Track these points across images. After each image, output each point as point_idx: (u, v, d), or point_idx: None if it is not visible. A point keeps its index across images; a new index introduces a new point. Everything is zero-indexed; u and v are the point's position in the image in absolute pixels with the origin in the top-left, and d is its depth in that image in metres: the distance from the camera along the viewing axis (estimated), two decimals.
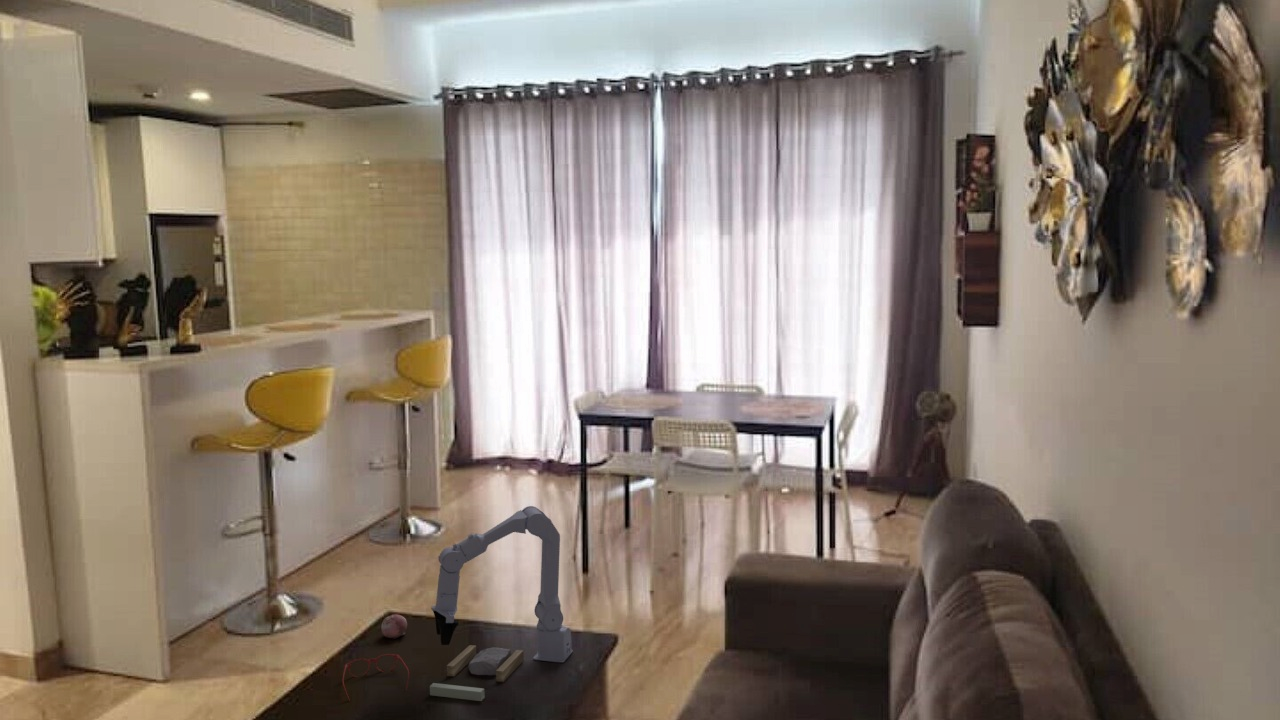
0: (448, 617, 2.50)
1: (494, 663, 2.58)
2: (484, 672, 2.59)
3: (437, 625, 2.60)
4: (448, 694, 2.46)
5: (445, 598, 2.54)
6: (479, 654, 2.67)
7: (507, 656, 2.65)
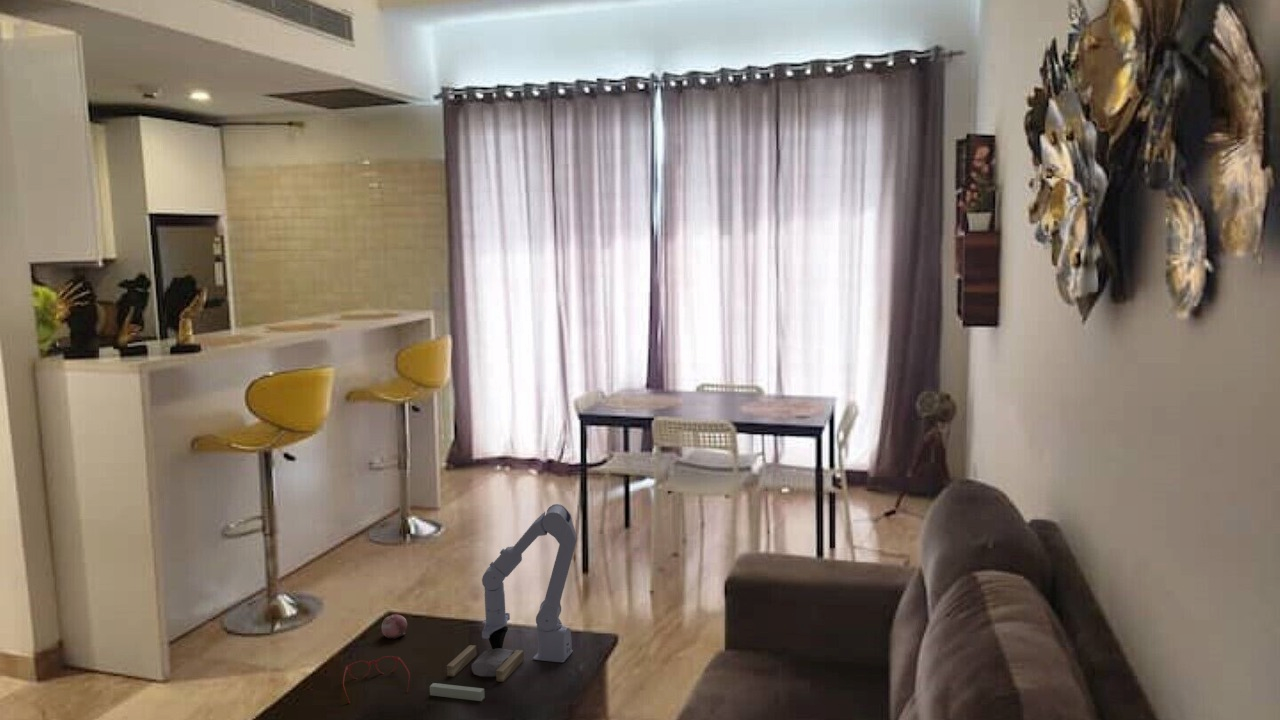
0: (483, 633, 2.62)
1: (496, 664, 2.57)
2: (487, 673, 2.58)
3: None
4: (448, 694, 2.46)
5: (488, 614, 2.66)
6: (482, 655, 2.66)
7: None
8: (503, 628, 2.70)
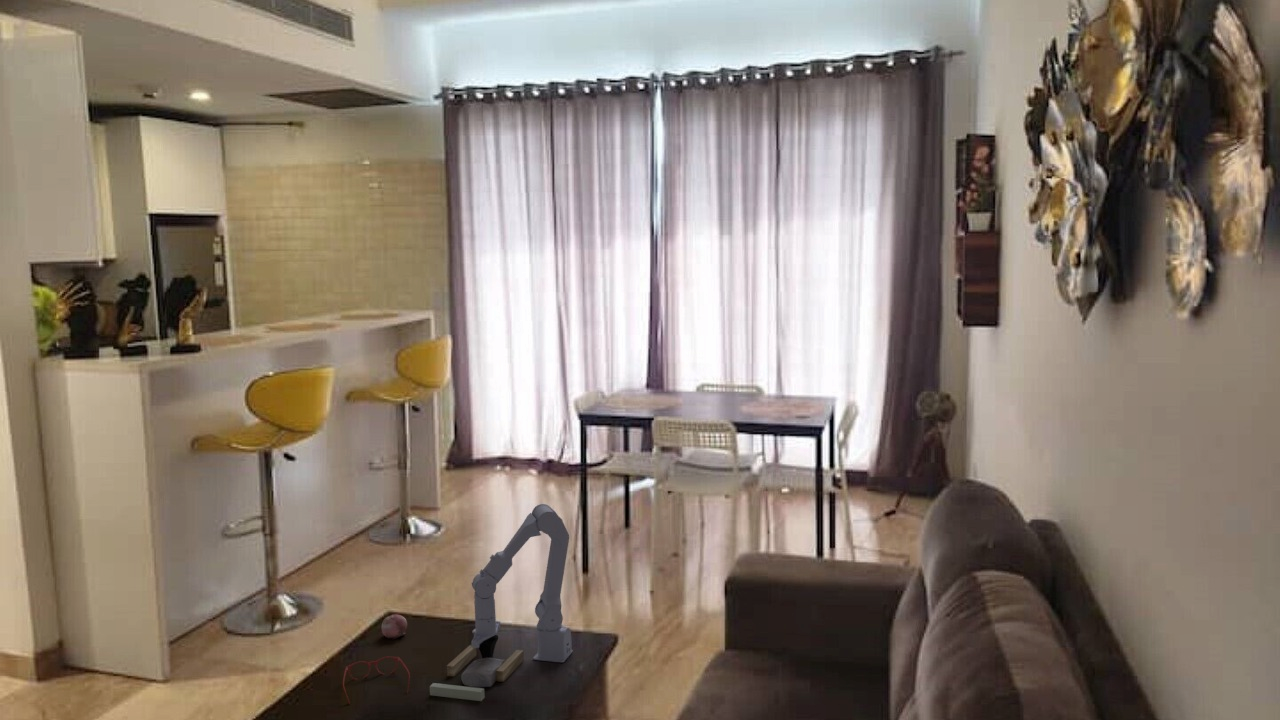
0: (472, 642, 2.56)
1: (487, 674, 2.51)
2: (477, 683, 2.52)
3: None
4: (448, 694, 2.46)
5: (478, 622, 2.60)
6: (472, 664, 2.59)
7: None
8: (493, 637, 2.63)
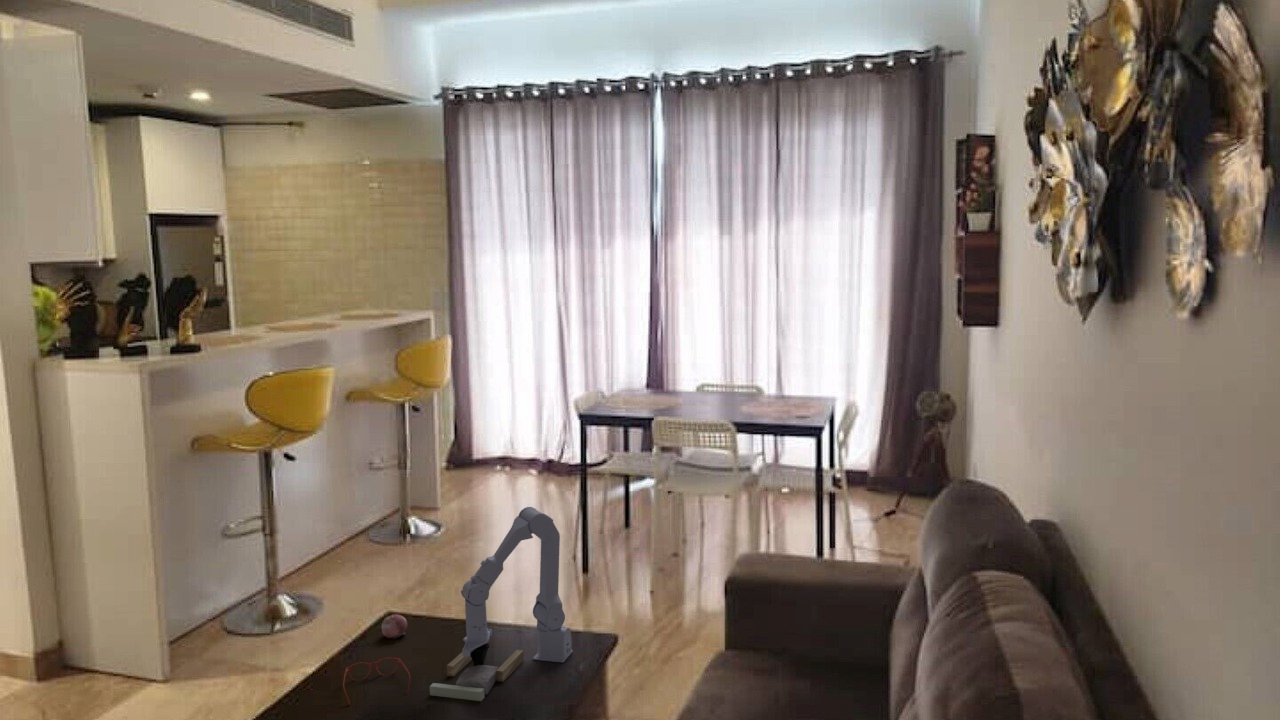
0: (463, 650, 2.51)
1: (483, 682, 2.46)
2: None
3: (474, 661, 2.58)
4: (448, 694, 2.46)
5: (469, 630, 2.55)
6: (465, 673, 2.54)
7: (495, 674, 2.54)
8: (484, 645, 2.58)
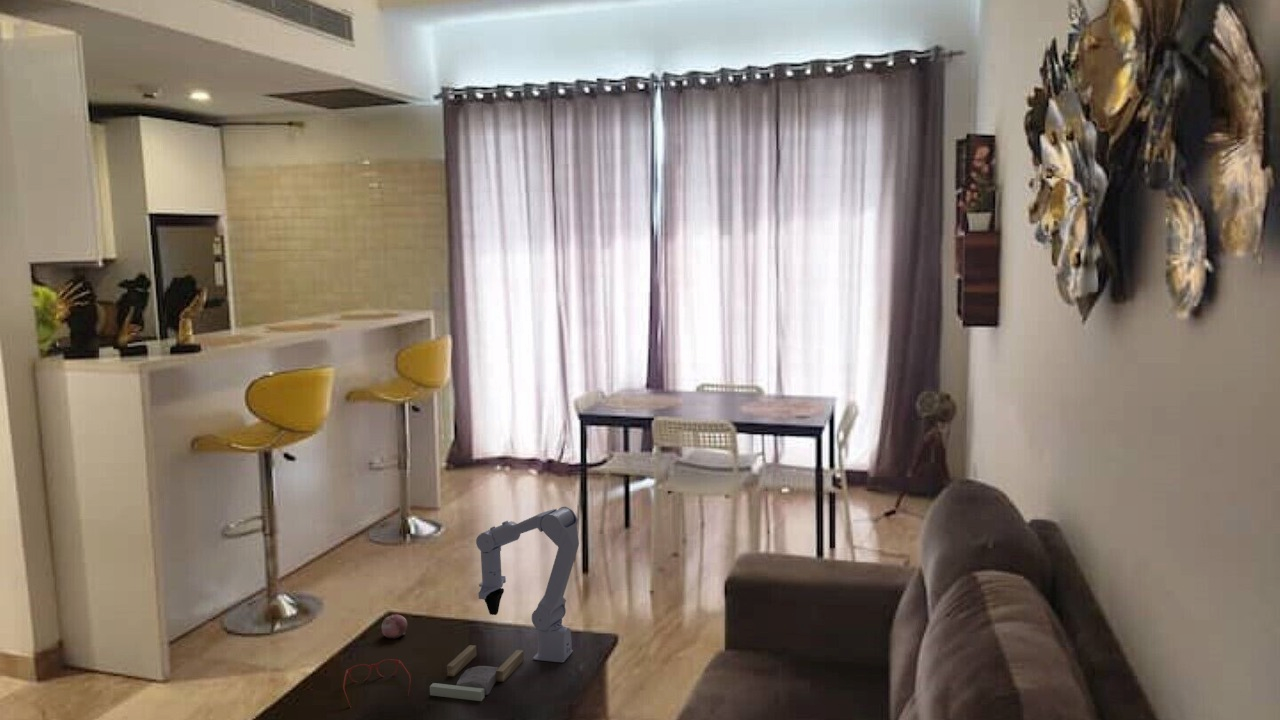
0: (479, 593, 2.69)
1: (484, 683, 2.46)
2: None
3: None
4: (448, 694, 2.46)
5: (484, 576, 2.73)
6: (465, 674, 2.54)
7: (495, 674, 2.54)
8: (499, 590, 2.76)
